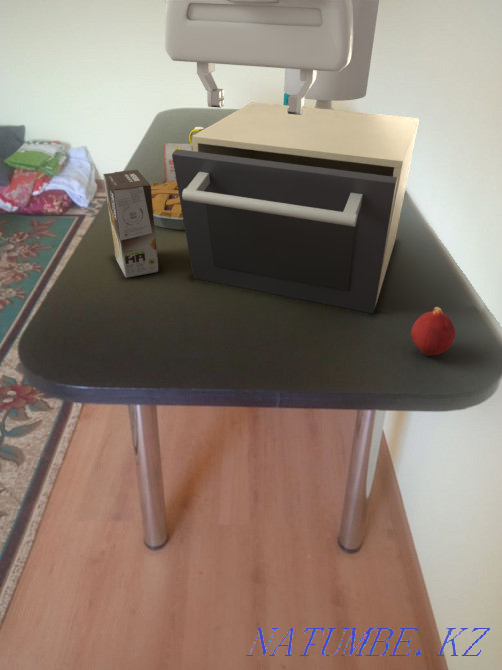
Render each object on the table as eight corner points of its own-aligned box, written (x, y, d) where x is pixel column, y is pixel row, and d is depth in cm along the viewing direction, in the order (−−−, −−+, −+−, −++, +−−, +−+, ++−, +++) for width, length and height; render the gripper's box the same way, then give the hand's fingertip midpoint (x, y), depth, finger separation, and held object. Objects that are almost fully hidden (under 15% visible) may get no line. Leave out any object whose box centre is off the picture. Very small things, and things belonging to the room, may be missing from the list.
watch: (188, 148, 159) (187, 127, 155) (191, 145, 161) (190, 125, 158) (206, 150, 158) (206, 129, 154) (209, 147, 160) (209, 127, 156)
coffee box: (160, 272, 93) (152, 185, 84) (125, 278, 91) (113, 190, 82) (146, 251, 100) (137, 168, 91) (113, 257, 98) (101, 172, 89)
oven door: (366, 339, 80) (388, 208, 63) (179, 299, 88) (153, 174, 71) (375, 307, 85) (397, 177, 67) (197, 272, 93) (176, 148, 76)
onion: (443, 344, 77) (457, 298, 72) (451, 368, 72) (466, 321, 68) (404, 341, 77) (414, 295, 73) (409, 365, 73) (421, 317, 68)
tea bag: (167, 181, 134) (164, 141, 128) (193, 181, 134) (191, 142, 128) (166, 186, 130) (162, 145, 125) (192, 186, 131) (190, 146, 125)
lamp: (367, 162, 150) (392, -3, 127) (335, 182, 136) (356, -1, 112) (302, 149, 160) (315, -6, 137) (265, 166, 145) (272, -5, 122)
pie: (127, 231, 108) (124, 208, 105) (148, 194, 125) (146, 174, 123) (232, 235, 107) (232, 212, 104) (237, 197, 125) (237, 177, 122)
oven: (375, 308, 85) (403, 161, 71) (197, 273, 93) (191, 136, 80) (395, 240, 107) (419, 118, 93) (249, 217, 115) (252, 102, 101)
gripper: (148, -43, 51) (159, 107, 59) (356, -39, 46) (338, 124, 54) (174, -41, 56) (181, 97, 64) (364, -37, 51) (346, 111, 59)
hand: (255, 110), depth 59 cm, fingers open, 8 cm apart
